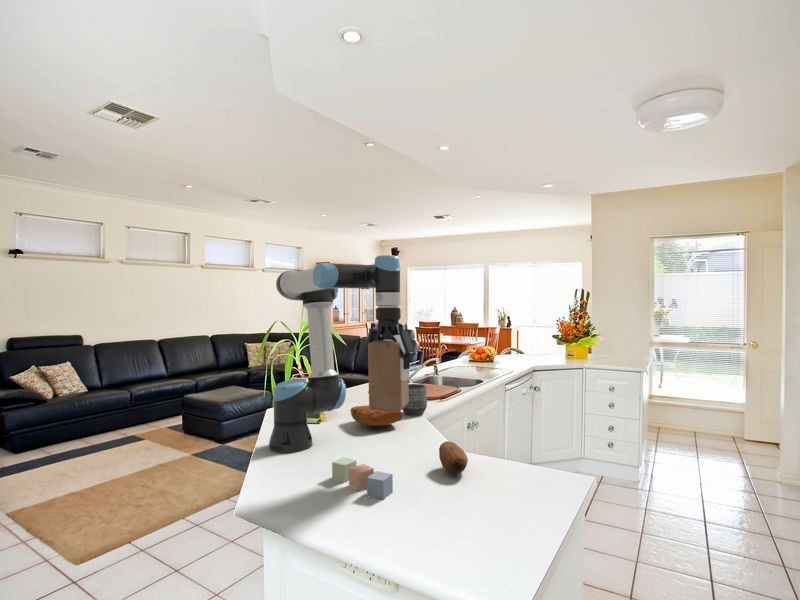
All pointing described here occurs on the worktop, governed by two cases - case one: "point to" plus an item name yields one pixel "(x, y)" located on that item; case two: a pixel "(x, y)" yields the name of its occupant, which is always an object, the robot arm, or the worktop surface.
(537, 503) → the worktop surface
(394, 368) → the wooden block
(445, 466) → the potato
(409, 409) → the planter
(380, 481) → the slate cube
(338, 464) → the sage cube
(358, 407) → the bread loaf
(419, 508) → the worktop surface
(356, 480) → the terracotta cube
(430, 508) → the worktop surface
